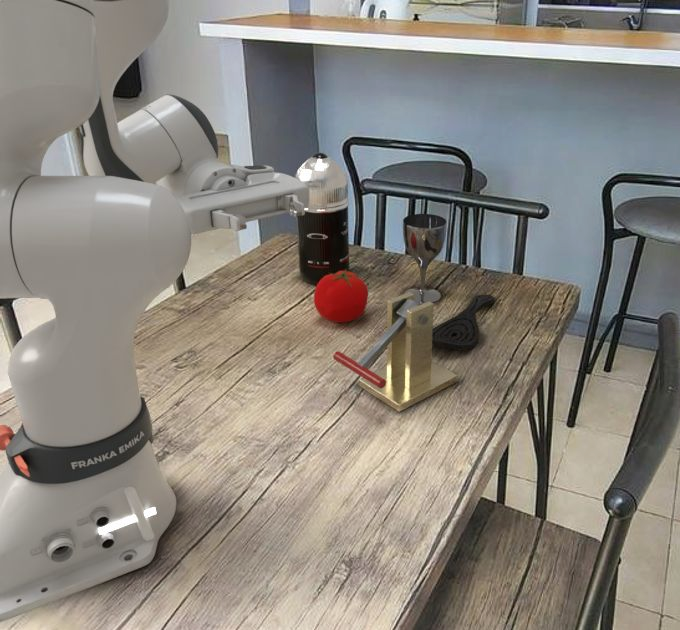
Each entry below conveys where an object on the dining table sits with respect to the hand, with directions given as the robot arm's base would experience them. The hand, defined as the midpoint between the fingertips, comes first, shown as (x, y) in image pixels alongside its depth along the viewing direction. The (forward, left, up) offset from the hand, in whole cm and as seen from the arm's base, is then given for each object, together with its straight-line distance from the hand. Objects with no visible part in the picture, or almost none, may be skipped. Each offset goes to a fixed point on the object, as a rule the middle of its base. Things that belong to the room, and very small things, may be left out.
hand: (272, 217), depth 94 cm
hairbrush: (+32, -9, -25) cm, 41 cm away
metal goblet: (+35, +5, -25) cm, 43 cm away
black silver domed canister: (+26, +24, -25) cm, 44 cm away
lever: (+8, -16, -16) cm, 24 cm away
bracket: (+12, -16, -25) cm, 32 cm away
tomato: (+18, +8, -25) cm, 32 cm away
